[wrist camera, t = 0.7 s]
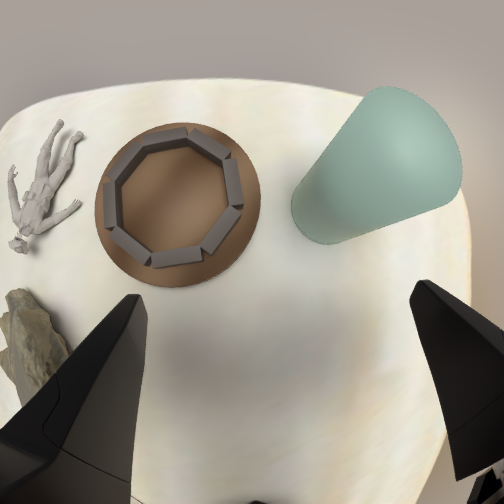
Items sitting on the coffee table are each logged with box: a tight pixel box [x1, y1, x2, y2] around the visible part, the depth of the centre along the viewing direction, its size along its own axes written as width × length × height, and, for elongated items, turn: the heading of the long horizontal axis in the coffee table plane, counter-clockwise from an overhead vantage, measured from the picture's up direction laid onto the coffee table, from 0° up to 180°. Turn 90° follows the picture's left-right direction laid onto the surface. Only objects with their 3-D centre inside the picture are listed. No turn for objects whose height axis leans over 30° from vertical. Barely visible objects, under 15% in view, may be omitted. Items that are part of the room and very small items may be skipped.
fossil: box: [0, 288, 69, 407], centre depth 15 cm, size 14×10×10 cm
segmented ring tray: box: [95, 123, 261, 287], centre depth 20 cm, size 13×13×4 cm
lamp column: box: [291, 87, 462, 245], centre depth 16 cm, size 6×6×13 cm
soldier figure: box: [8, 119, 83, 254], centre depth 19 cm, size 8×5×12 cm
